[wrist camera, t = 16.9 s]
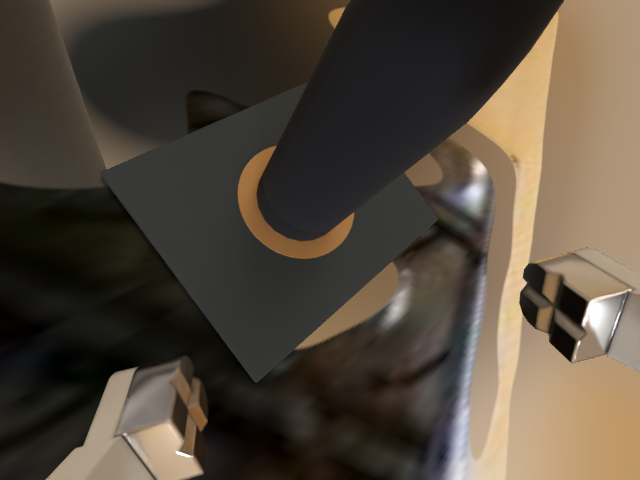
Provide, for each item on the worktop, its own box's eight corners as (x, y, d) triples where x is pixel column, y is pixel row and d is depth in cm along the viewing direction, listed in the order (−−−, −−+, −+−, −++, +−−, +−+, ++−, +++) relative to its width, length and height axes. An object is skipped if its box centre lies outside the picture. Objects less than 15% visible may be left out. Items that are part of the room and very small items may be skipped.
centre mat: (101, 176, 22) (99, 171, 22) (325, 77, 32) (329, 71, 31) (254, 382, 22) (257, 383, 22) (434, 221, 32) (440, 218, 31)
